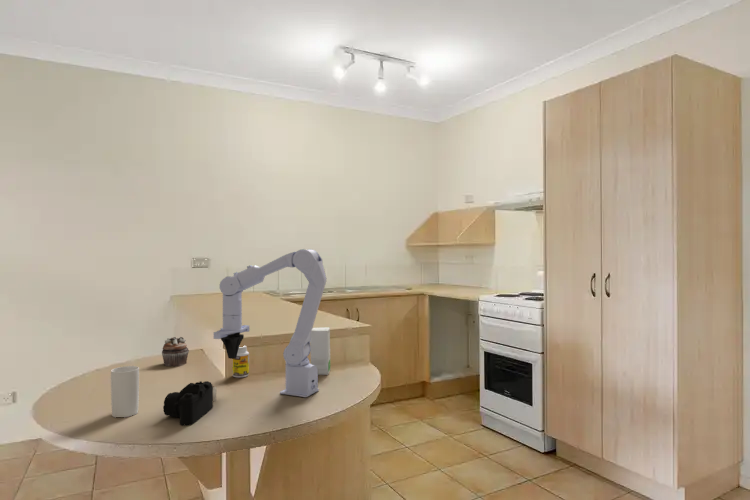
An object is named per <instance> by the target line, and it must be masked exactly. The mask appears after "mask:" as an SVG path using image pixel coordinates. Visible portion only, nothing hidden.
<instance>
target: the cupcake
mask: <svg viewBox="0 0 750 500" xmlns="http://www.w3.org/2000/svg"><path fill="white" fill-rule="evenodd" d="M185 342H186V339H185V338H184V337H182V336H180V337H179V338H178V337H177V338H176V336H173V337H171V338H166V339H165V340H164V344H163V347H162V350H161V356H162V360H163V365H164V366H165V367H180V366H184V365H186V364H187V361H188V355H189V351H190V350H189V348H188V347H187V343H185Z"/></svg>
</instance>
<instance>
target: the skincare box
mask: <svg viewBox="0 0 750 500" xmlns="http://www.w3.org/2000/svg"><path fill="white" fill-rule="evenodd" d="M310 346H311V351H310V364H312V365H315V366H316V367H317V370H318V376H328V375H329V374H330V371H331V327H325V326H324V327H313V328H312V331H311V341H310Z"/></svg>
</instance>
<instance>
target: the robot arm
mask: <svg viewBox="0 0 750 500" xmlns="http://www.w3.org/2000/svg"><path fill="white" fill-rule="evenodd" d="M323 263H324V262H323V258H322V257H321V256H320V254H319V253H318V252H317V251H316V249H313V248H312V249H311V248H308V249H305V248H303V249H298V250H296V251H292V252H290V253H286V254H284V255H282V256H280V257H278V258H276V259H274V260H272V261H269V262H268V263H266V264H264V265H262V266H259V265H255V264H254V265H252V264H250V265H248V266H246V268H245V269H242V270H241V271H239V272H238V271H236V272H234V273H233V275H232V276H229V275H228V276H225V277H224V278H222V279H221V280H220V282H219V289H220V292H221V293H222V327H221V328H220V329H219V330H217V331H214V332H213V339H215V340H220V341H222V343H223V345H224V348H225V351H226V354H227V358H228V359H235V358H236V357H237V353H238V349H239V346H240V345H241V343H242V341H243V340H244V338H245V336H244V334H241V333H248V332H250V325H248V324H244V325H243V322H242V320H243V313H242V311H243V309H242V307H243V305H242V304H243V303H242V300H243V299H242V298H243V297H242V296H243V295H242V294H243V292H244V291H245V290H248V289H251V288H252V287H255V286H256V285H260V284H261V283H263V282H264V280H265V277H266V276H268V275H272V274H273V273H275V272H278V271H280V270H283V269H285V268H296V269H297V270H298V271H300V272H301V273H302V274H303V275H304V277H305V278H306V280H307V281H308V285H307V288H306V292H305V294H304V298H303V302H302V306H301V309H300V313H299V316H298V319H297V323H296V326H295V329H294V332H293V334H292V336H291V338H290V341H289V343H288V345H287V346H286V347H285V348H284V350H283V353H282V354H283V355H282V357H283V359H284V361H285V389H283V390H280V391H279V394H280V395H288V396H294V397H302V398H307V397H310V396H312V395H313V394H315V393H317V392H319V390H320V389H319V378H318V377H319V375H318V370H317V367H316V366H315V365H312V364H311V362H310V360H309V355H311V346H310V341H311V331H312V329H313V328H314V324H315V321H316V318H317V314H318V310H319V307H320V304H321V301H322V297H323V294H324V291H325V286H326V283H327V276H326V272H325V268H324V264H323Z"/></svg>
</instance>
